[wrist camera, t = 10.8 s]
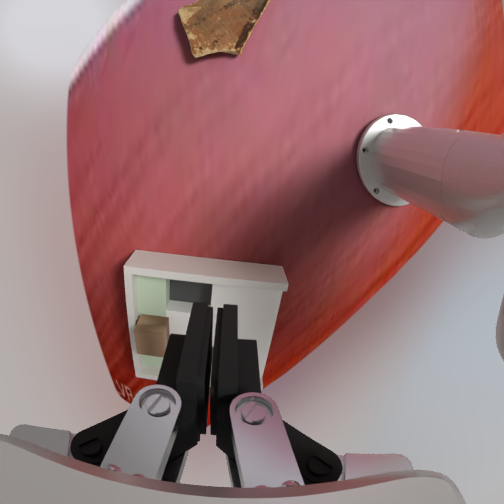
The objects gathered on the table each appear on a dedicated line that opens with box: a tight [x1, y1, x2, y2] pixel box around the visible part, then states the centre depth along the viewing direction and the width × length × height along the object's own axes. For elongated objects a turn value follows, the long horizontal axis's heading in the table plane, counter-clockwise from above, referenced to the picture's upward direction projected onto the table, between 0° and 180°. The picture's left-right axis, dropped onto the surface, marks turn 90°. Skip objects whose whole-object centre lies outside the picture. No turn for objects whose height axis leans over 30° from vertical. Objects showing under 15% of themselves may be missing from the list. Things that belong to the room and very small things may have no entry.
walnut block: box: [134, 314, 170, 357], centre depth 37 cm, size 4×4×4 cm
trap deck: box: [124, 250, 289, 390], centre depth 40 cm, size 20×20×5 cm
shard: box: [178, 0, 270, 58], centre depth 26 cm, size 13×9×2 cm
